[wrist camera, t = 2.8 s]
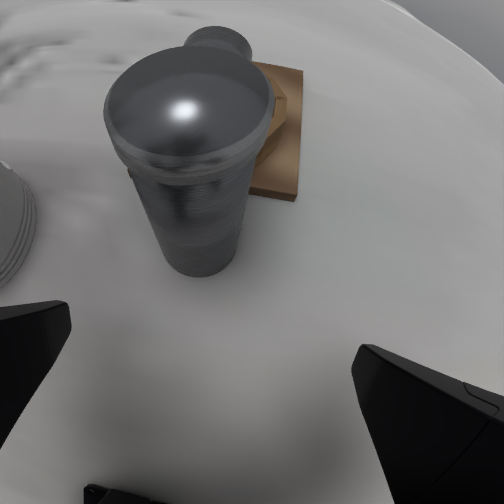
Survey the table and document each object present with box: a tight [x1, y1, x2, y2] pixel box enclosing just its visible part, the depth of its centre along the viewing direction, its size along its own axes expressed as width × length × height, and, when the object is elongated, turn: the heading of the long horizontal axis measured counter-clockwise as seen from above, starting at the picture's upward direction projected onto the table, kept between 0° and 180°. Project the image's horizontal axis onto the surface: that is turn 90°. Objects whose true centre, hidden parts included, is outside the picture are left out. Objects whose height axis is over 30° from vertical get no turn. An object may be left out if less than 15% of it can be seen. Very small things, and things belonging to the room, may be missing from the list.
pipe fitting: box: [103, 26, 275, 277], centre depth 15 cm, size 8×5×13 cm
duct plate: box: [128, 61, 303, 202], centre depth 23 cm, size 14×12×4 cm
